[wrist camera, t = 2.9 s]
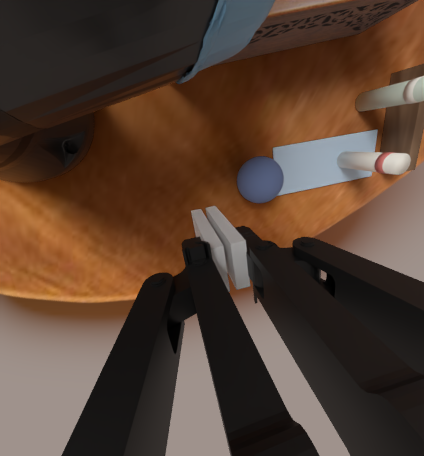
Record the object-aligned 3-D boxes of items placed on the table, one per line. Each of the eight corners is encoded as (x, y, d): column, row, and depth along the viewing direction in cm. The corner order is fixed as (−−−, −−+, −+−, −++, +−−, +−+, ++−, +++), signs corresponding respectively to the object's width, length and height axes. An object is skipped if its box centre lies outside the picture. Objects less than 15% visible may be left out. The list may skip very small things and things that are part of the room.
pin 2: (334, 169, 34) (390, 177, 25) (336, 152, 33) (394, 154, 24) (348, 166, 34) (408, 173, 26) (350, 149, 33) (413, 151, 25)
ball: (233, 201, 32) (248, 212, 26) (228, 159, 30) (244, 162, 24) (271, 193, 33) (293, 203, 27) (269, 152, 30) (293, 153, 25)
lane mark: (274, 196, 33) (275, 196, 33) (272, 147, 30) (273, 147, 30) (370, 175, 35) (371, 176, 35) (376, 129, 33) (377, 129, 32)
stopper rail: (377, 168, 35) (406, 171, 31) (391, 73, 30) (427, 62, 26) (385, 166, 35) (414, 169, 31) (400, 72, 30) (437, 61, 26)
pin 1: (354, 113, 31) (423, 101, 23) (355, 93, 30) (429, 73, 22) (368, 110, 31) (442, 98, 23) (371, 90, 30) (448, 70, 22)
